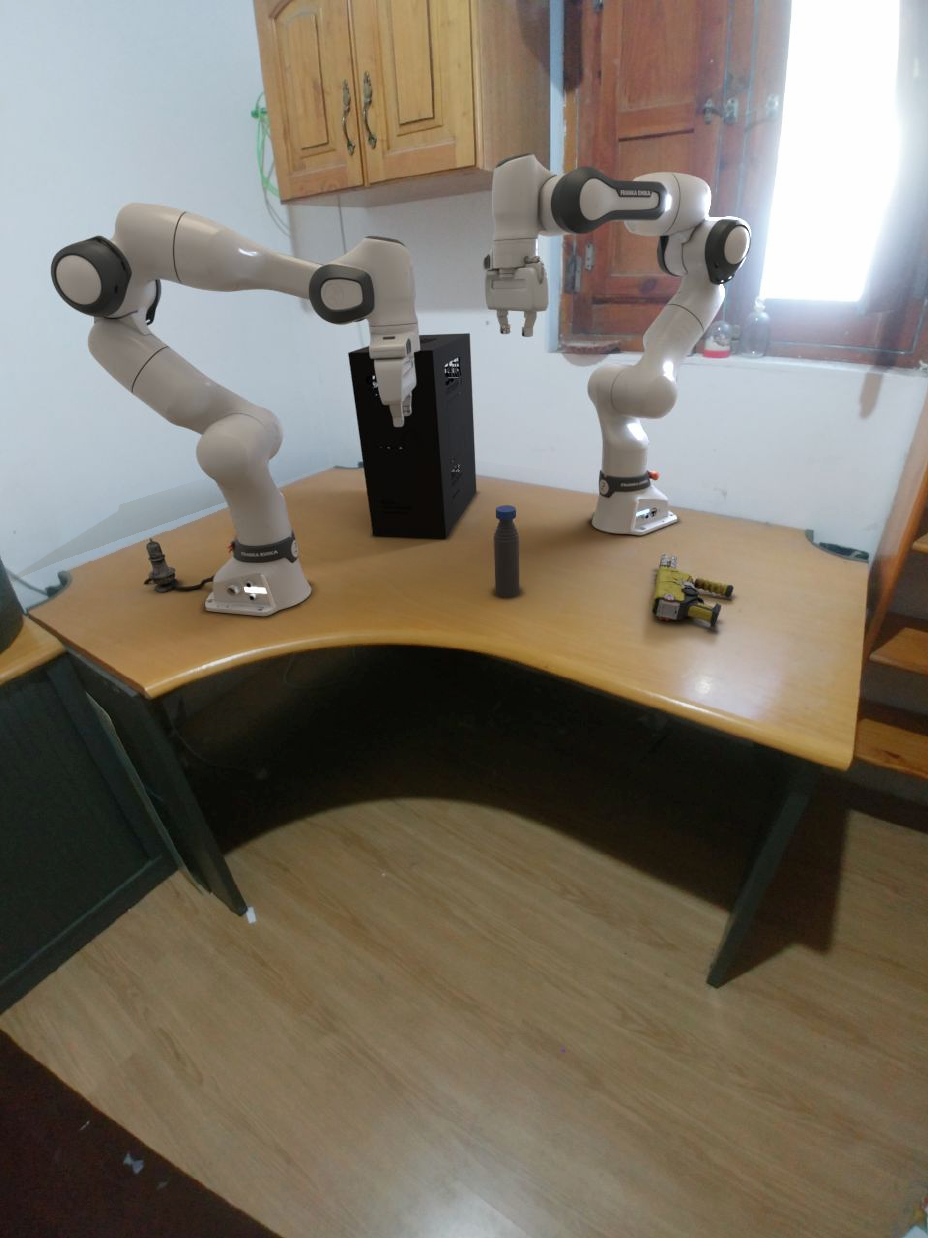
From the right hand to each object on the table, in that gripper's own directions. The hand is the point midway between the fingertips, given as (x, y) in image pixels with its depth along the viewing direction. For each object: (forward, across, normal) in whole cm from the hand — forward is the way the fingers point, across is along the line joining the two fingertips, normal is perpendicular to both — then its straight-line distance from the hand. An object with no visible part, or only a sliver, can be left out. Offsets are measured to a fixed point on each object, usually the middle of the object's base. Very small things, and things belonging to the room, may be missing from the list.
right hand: (516, 335), depth 125 cm
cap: (+30, -19, +13) cm, 38 cm away
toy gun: (+48, -41, -18) cm, 66 cm away
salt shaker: (+48, +23, +80) cm, 96 cm away
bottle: (+48, -19, +13) cm, 53 cm away
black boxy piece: (+48, +36, +9) cm, 61 cm away
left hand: (+12, -7, +29) cm, 32 cm away
